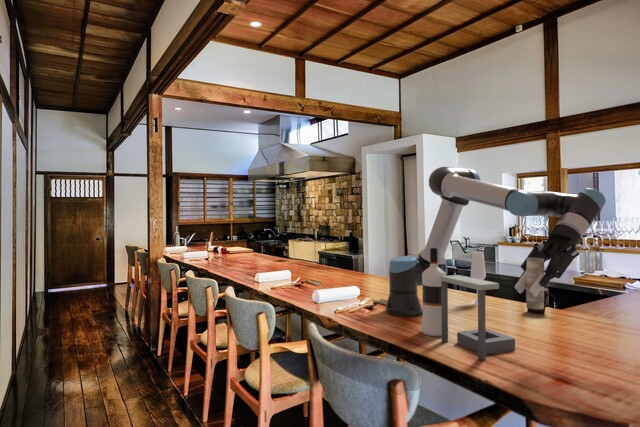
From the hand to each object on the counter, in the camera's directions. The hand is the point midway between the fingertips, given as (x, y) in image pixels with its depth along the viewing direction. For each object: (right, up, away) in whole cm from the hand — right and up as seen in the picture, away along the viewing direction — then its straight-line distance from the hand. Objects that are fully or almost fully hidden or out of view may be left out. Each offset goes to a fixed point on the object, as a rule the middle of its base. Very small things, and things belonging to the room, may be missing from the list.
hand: (525, 291), depth 115 cm
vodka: (-17, -20, +29) cm, 39 cm away
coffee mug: (+34, -20, +56) cm, 69 cm away
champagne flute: (+16, -20, +75) cm, 80 cm away
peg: (+4, -5, +1) cm, 6 cm away
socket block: (-5, -20, +15) cm, 25 cm away
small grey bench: (-11, -20, +12) cm, 26 cm away
